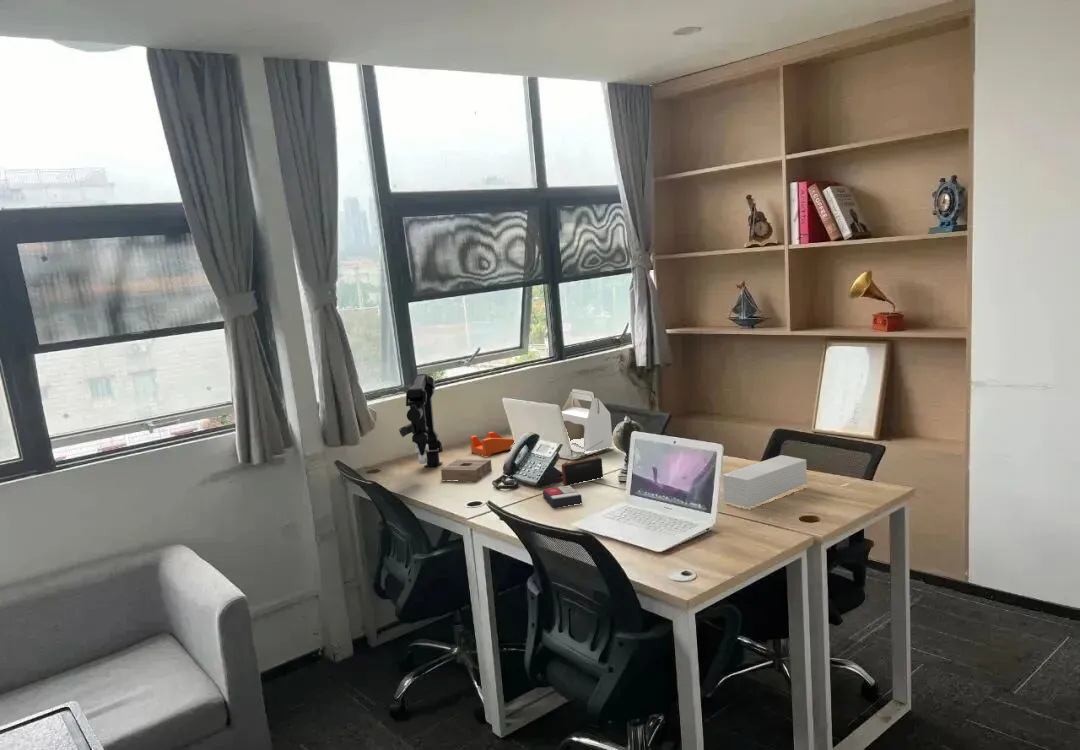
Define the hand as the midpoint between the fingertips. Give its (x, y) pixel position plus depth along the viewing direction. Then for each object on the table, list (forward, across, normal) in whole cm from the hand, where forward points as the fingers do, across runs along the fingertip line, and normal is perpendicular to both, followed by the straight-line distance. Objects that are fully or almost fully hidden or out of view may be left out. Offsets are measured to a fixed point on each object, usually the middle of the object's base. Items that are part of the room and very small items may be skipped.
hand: (422, 453), depth 327 cm
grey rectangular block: (+12, +71, +121) cm, 141 cm away
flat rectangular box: (+13, +49, +51) cm, 72 cm away
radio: (+12, +28, +64) cm, 71 cm away
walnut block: (+12, 0, +18) cm, 21 cm away
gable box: (+12, -22, +74) cm, 79 cm away
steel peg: (+4, 0, 0) cm, 4 cm away
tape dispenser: (+12, -39, +32) cm, 52 cm away
